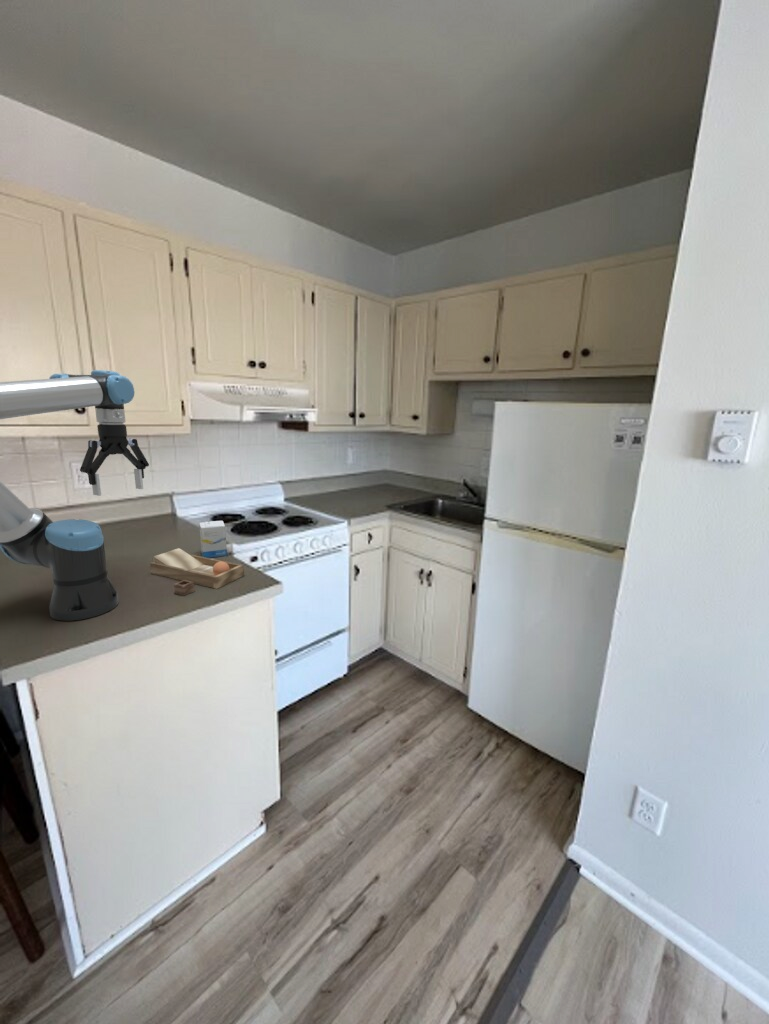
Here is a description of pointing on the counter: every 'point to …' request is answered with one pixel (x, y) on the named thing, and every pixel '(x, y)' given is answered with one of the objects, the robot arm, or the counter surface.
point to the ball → (220, 568)
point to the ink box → (213, 539)
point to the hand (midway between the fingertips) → (119, 491)
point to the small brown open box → (184, 587)
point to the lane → (194, 569)
